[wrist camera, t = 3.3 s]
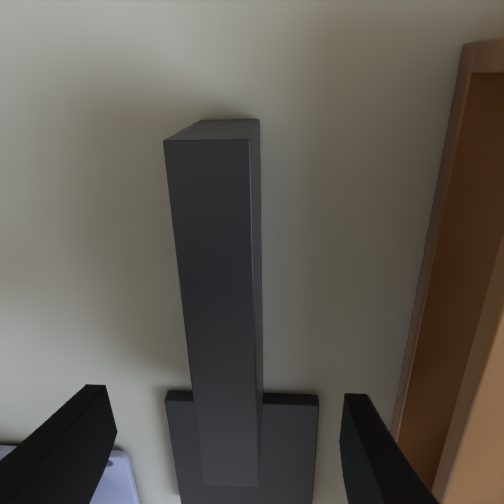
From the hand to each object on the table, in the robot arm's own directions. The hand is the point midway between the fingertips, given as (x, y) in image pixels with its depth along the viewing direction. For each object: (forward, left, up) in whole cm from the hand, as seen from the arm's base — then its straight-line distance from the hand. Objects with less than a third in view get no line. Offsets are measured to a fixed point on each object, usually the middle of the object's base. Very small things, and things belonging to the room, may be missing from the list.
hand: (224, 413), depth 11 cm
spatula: (0, -3, -5) cm, 6 cm away
